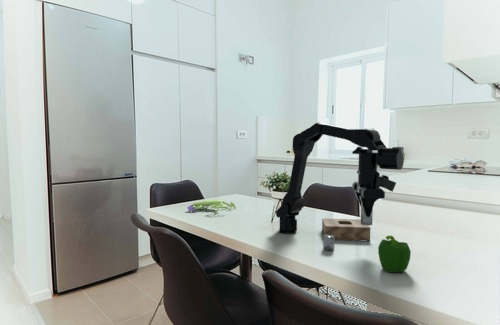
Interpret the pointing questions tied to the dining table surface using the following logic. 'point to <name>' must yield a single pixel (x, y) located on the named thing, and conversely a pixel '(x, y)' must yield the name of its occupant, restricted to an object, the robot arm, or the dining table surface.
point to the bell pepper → (394, 255)
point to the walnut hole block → (345, 229)
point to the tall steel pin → (365, 219)
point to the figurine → (210, 203)
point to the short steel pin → (328, 242)
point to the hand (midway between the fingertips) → (366, 215)
